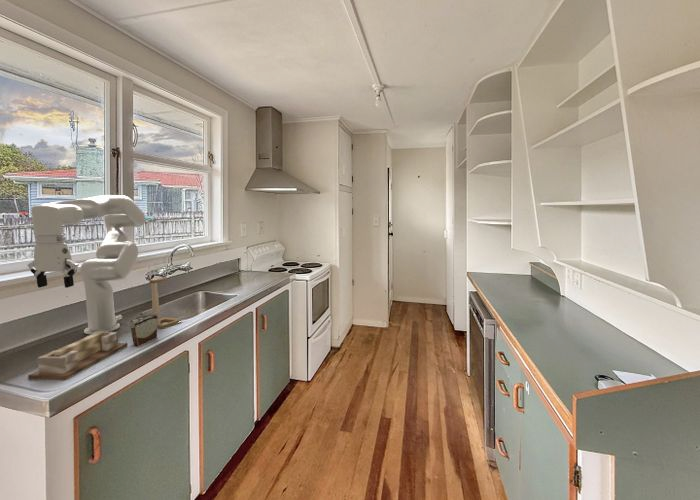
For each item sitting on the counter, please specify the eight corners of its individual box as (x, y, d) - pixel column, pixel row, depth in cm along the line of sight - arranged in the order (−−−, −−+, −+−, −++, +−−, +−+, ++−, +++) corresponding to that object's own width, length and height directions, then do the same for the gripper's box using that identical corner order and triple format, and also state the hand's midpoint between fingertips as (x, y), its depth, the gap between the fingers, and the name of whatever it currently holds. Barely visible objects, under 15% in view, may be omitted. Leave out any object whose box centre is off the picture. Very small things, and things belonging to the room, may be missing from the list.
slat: (100, 346, 122) (99, 331, 122) (106, 347, 122) (105, 331, 121) (55, 369, 104) (53, 351, 104) (62, 369, 104) (60, 351, 104)
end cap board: (97, 345, 126) (95, 330, 126) (127, 346, 126) (125, 330, 125) (28, 378, 101) (26, 359, 100) (65, 379, 100) (63, 360, 99)
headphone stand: (182, 321, 155) (179, 276, 153) (164, 329, 144) (161, 280, 142) (163, 320, 157) (161, 275, 155) (144, 327, 147) (141, 279, 144)
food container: (147, 335, 137) (145, 312, 136) (159, 336, 136) (158, 313, 135) (121, 347, 125) (119, 321, 124) (134, 348, 124) (133, 323, 123)
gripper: (82, 239, 120) (88, 284, 122) (35, 238, 120) (41, 283, 122) (65, 241, 113) (71, 289, 115) (14, 241, 112) (22, 289, 115)
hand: (56, 286), depth 119 cm, fingers open, 9 cm apart
